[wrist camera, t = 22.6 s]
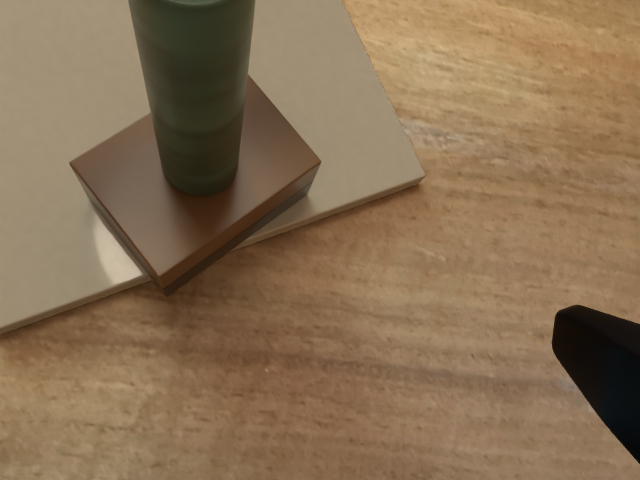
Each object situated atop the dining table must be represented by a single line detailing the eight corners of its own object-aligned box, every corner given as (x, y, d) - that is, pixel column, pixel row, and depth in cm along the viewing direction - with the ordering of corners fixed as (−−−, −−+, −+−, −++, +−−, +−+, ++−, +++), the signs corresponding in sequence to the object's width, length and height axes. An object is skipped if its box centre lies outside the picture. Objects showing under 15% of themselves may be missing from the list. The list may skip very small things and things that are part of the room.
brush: (308, 194, 25) (410, -39, 12) (166, 298, 23) (108, 148, 10) (233, 103, 25) (255, -210, 13) (87, 197, 23) (-64, -69, 10)
